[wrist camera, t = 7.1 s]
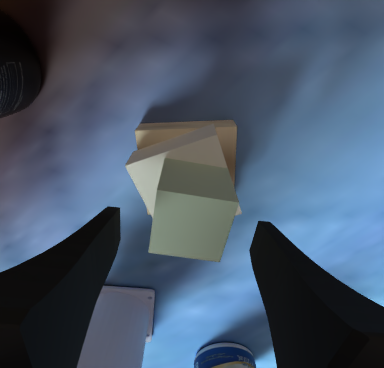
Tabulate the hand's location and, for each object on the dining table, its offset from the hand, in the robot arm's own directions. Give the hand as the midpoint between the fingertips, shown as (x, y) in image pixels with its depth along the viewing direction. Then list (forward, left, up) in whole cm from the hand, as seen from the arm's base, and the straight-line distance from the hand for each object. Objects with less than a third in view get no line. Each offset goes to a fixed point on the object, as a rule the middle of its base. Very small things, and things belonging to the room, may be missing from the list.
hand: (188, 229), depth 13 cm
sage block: (0, 0, -4) cm, 4 cm away
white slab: (0, 0, -6) cm, 6 cm away
